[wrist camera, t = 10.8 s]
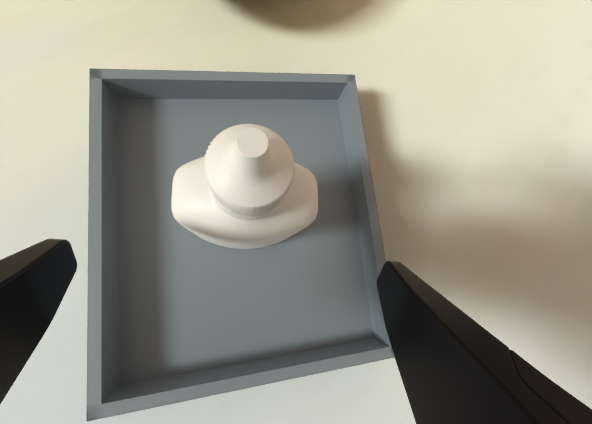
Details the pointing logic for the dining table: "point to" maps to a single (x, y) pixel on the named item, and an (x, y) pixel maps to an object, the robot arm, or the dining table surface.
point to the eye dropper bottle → (245, 190)
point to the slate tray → (217, 259)
